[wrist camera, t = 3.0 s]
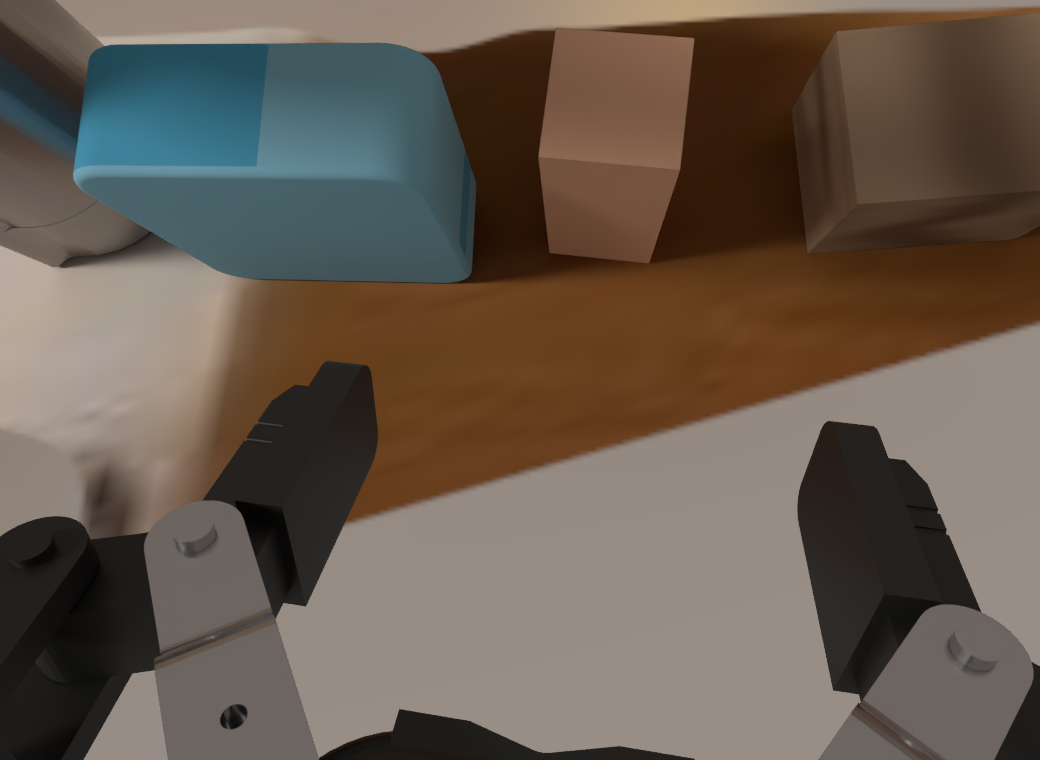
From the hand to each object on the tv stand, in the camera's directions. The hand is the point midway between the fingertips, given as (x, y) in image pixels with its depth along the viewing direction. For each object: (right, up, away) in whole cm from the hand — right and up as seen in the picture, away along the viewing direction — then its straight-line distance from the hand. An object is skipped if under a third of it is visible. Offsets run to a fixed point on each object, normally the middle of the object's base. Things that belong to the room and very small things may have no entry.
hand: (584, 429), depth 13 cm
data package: (-9, +8, +22) cm, 25 cm away
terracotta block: (+3, +9, +21) cm, 23 cm away
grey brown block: (+16, +10, +20) cm, 28 cm away
